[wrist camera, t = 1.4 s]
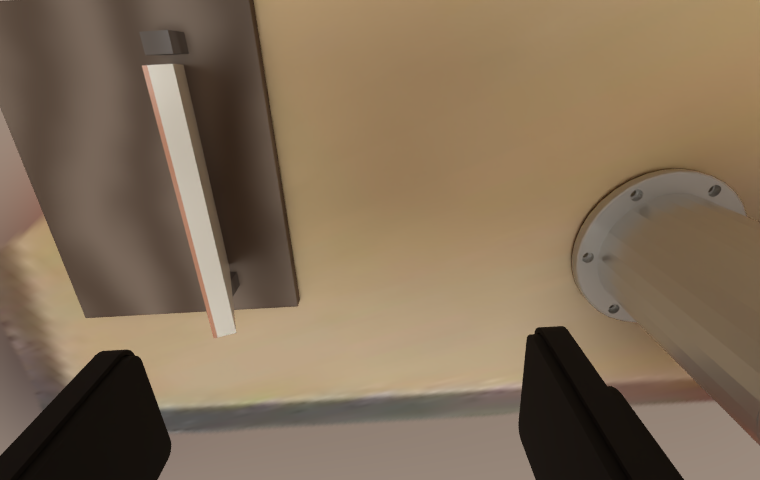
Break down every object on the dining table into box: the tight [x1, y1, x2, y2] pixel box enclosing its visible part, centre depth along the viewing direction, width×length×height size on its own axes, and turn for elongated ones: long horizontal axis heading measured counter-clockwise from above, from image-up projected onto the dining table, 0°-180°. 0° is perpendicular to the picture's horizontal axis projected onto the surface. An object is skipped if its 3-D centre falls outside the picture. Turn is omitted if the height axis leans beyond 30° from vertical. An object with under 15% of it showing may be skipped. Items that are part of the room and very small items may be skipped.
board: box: [0, 0, 300, 318], centre depth 28 cm, size 17×22×3 cm
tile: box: [142, 64, 236, 338], centre depth 25 cm, size 9×14×1 cm
